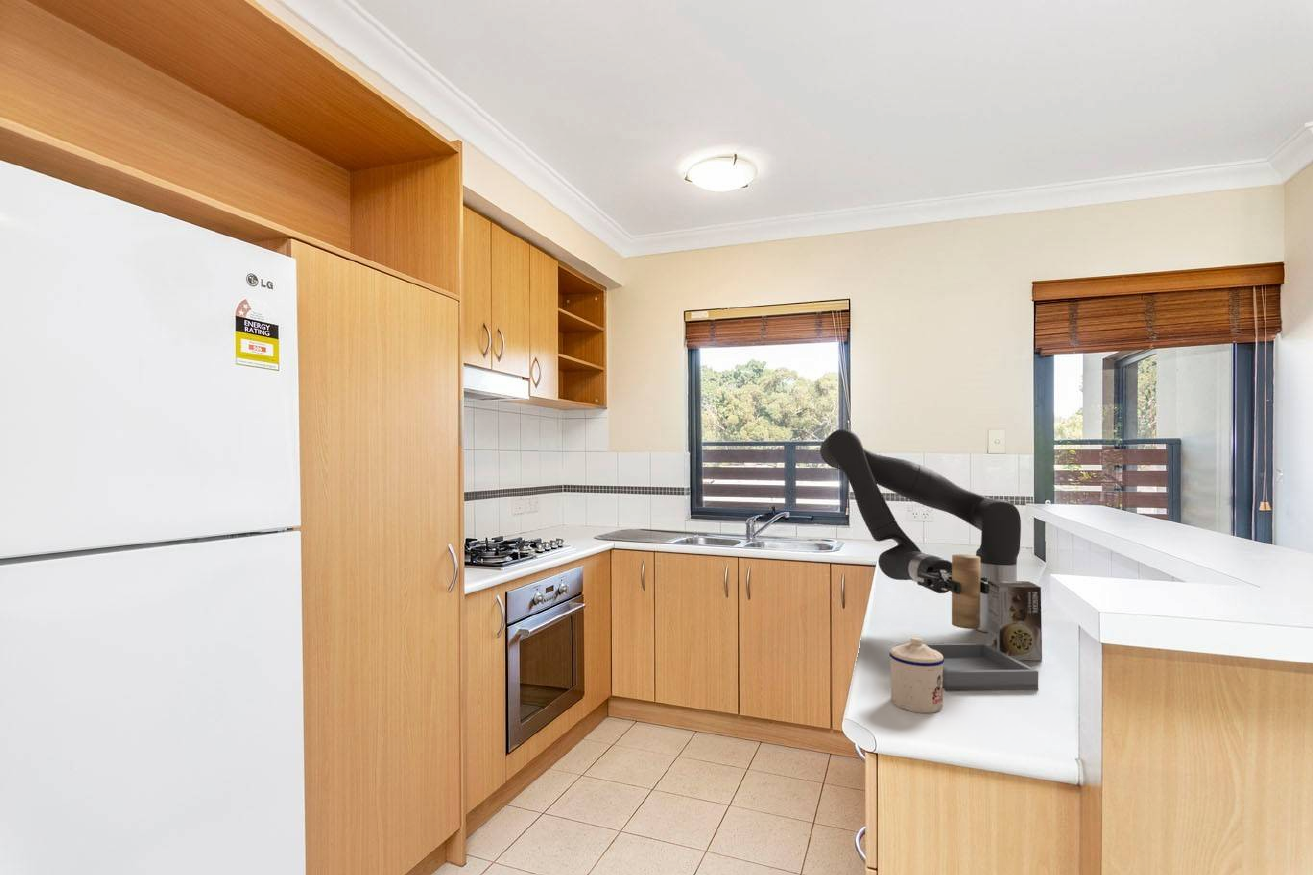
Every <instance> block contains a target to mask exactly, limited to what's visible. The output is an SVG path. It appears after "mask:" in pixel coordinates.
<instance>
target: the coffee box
mask: <svg viewBox="0 0 1313 875" xmlns="http://www.w3.org/2000/svg"><path fill="white" fill-rule="evenodd" d="M988 584H989V593H988V633H987V637H988V640H987V645H989V646H991V647H993V648H995V649H997V650H999V651H1001V652H1002V653H1004V654H1006V655H1008V656H1010V657H1012V658H1014V659H1016V660H1018V661H1038V662H1039V661H1041V662H1042V661H1043V635H1042V634H1043V632H1042V623H1043V622H1042V617H1043V616H1042V587H1041V586H1039V585H1037V584H1035V583H1033V582H1030V581H1025V580H1024V581H1022V580H1019V581H1018V580H1017V581H988Z"/></svg>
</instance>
